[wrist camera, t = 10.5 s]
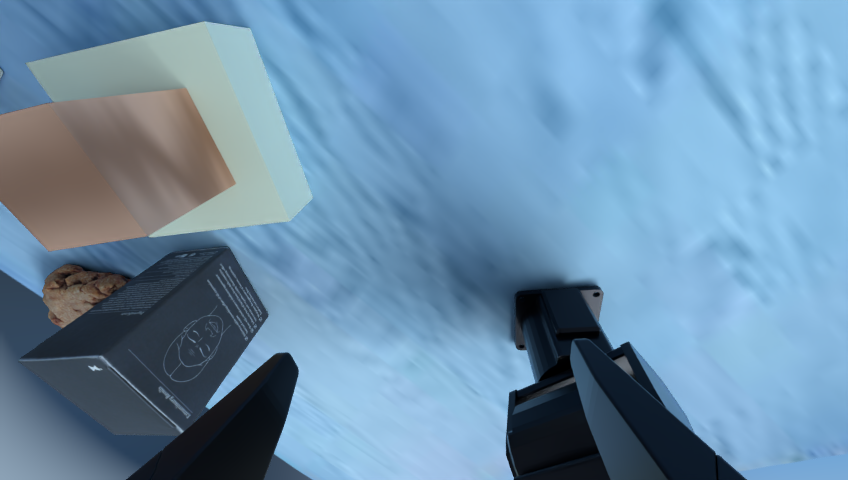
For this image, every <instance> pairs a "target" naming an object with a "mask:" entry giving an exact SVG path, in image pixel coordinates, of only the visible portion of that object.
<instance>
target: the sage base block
mask: <svg viewBox="0 0 848 480" xmlns="http://www.w3.org/2000/svg"><path fill="white" fill-rule="evenodd" d="M26 65H27V66H28V68H29V69H30V70H31V72H32V73H33V75H34V76H35V77H36V79H37V80H38V82H39V83H40V84H41V86H42V87H43V89H44V90H45V91H46V93H47V94H48V96H49V97H50V98H51V100H52V101H53V102H62V101H71V100H80V99H89V98H98V97H108V96H117V95H126V94H135V93H145V92H154V91H163V90H172V89H181V88H186V89H187V90H188V92H189V94H190V96H191V98H192V100H193V102H194V104H195V106H196V108H197V110H198V111H199V113H200V115H201V117H202V119H203V121H204V123H205V125H206V127H207V129H208V131H209V132H210V134H211V136H212V138H213V140H214V142H215V144H216V146H217V148H218V150H219V152H220V153H221V155H222V157H223V159H224V161H225V163H226V165H227V167H228V169H229V171H230V173H231V174H232V176H233V178H234V180H235V182H236V184H235V185H233V186H232V187H230V188H228V189H227V190H225V191H223V192H222V193H220V194H218V195H217V196H215V197H213V198H211V199H210V200H208V201H206V202H205V203H203V204H201V205H200V206H198V207H196V208H195V209H193V210H191V211H189V212H188V213H186V214H184V215H183V216H181V217H179V218H178V219H176V220H174V221H173V222H171V223H169V224H167V225H166V226H164V227H162V228H161V229H159V230H157V231H156V232H154V233H152V234H151V235H149V237H150V238H151V237H160V236H168V235H177V234H185V233H194V232H202V231H210V230H219V229H227V228H236V227H244V226H253V225H261V224H270V223H278V222H287V221H291V220H292V219H293V218H294V217H295V216H296V215H297V214H298V213H299V212H300V211H301V210H302V209H303V208H304V207H305V206H306V205H307V204H308V203H309V202H310V201H311V200H312V199H313V196H312V193H311V191H310V188H309V185H308V183H307V180H306V177H305V175H304V172H303V169H302V167H301V164H300V161H299V158H298V156H297V153H296V150H295V148H294V145H293V142H292V140H291V137H290V134H289V132H288V129H287V126H286V123H285V121H284V118H283V115H282V113H281V110H280V107H279V105H278V102H277V99H276V97H275V94H274V91H273V88H272V86H271V83H270V80H269V78H268V75H267V72H266V70H265V67H264V64H263V61H262V59H261V56H260V53H259V51H258V48H257V45H256V43H255V40H254V37H253V35H252V32H251V29H250V28H244V27H237V26H231V25H224V24H218V23H212V22H205V21H203V22H199V23H195V24H190V25H186V26H182V27H178V28H173V29H169V30H165V31H160V32H156V33H152V34H148V35H143V36H139V37H135V38H131V39H126V40H122V41H118V42H113V43H109V44H105V45H101V46H96V47H92V48H88V49H83V50H79V51H75V52H71V53H66V54H62V55H58V56H53V57H49V58H45V59H41V60H36V61H32V62H28V63H26Z"/></svg>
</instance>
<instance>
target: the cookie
mask: <svg viewBox="0 0 848 480" xmlns="http://www.w3.org/2000/svg"><path fill="white" fill-rule="evenodd" d="M129 281H131V280H130V279H126V278H125V277H124V276H122V275H119V274H112V273H111V272H109V273H105V272H102V273H99V272H92V271H84V270H83V268H81V267H80V266H77V265H71V264H65V265H63V266H62V267H60V268H58V269H56V270H55V271H54V272H52V273H51V274H50V275H49V276H48V277H47V278H46V279H45V285H44V287H43V290H42V292H43V294H44V296H43V301H44V303H45V304H46V305H47V306H48V307H49V309H50V311H49V315H48V318H49V319H51V321H52V322H53V323H54V324H55V325H59V326H60V327H61V328H64V327H65V326H66V325H68V324H69V323H71V322H72V321H74V320H75V319H76V318H78V317H79V316H81V315H83V314H84V313H85V312H87V311H88V310H89V309H91V308H92V307H94V306H95V305H97V304H98V303H100V302H101V301H102V300H104V299H105V298H107V297H108V296H110V295H111V294H112V293H114V292H115V291H117V290H118V289H119V288H121V287H122V286H124V285H125V284H126V283H128V282H129Z"/></svg>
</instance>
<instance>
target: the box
mask: <svg viewBox="0 0 848 480" xmlns="http://www.w3.org/2000/svg"><path fill="white" fill-rule="evenodd" d="M267 317H268V313H267V311H266V310H265V308H264V306H263V305H262V303H261V301H260V300H259V298H258V296H257V295H256V293H255V291H254V290H253V288H252V286H251V284H250V283H249V281H248V279H247V278H246V276H245V274H244V273H243V271H242V269H241V267H240V266H239V264H238V262H237V261H236V259H235V257H234V255H233V254H232V252H231V250H230V249H229V247H222V248H210V249H201V250H190V251H180V252H173V253H170V254H168V255H166V256H165V257H164V258H162V259H161V260H160V261H158V262H157V263H155V264H154V265H152V266H151V267H149V268H148V269H147V270H145V271H144V272H142V273H141V274H140V275H138V276H136V277H135V278H134V279H132V280H131V281H129V282H128V283H126V284H125V285H124V286H122V287H121V288H119V289H118V290H117V291H115V292H114V293H112V294H111V295H110V296H108V297H107V298H105V299H104V300H102V301H101V302H100V303H98V304H97V305H95V306H94V307H92V308H91V309H89V310H88V311H87V312H85V313H84V314H83V315H81V316H79V317H78V318H76V319H75V320H74V321H72V322H71V323H69V324H68V325H66V326H65V327H64V328H62V329H61V330H60V331H58V332H57V333H56V334H54V335H53V336H51V337H50V338H48V339H46V340H45V341H44V342H43V343H41V344H40V345H38V346H37V347H36V348H35V349H33V350H32V351H30V352H29V353H27V354H26V355H24V356H23V357H21V358H20V359H19V362H20V363H21V364H22V365H24V366H25V367H26V368H27V369H29V370H30V371H31V372H33V373H34V374H35V375H37V376H38V377H40V378H41V379H42V380H43V381H45V382H46V383H47V384H49V385H50V386H51V387H52V388H54V389H55V390H56V391H58V392H59V393H60V394H62V395H63V396H64V397H66V398H67V399H68V400H69V401H71V402H72V403H73V404H75V405H76V406H77V407H79V408H80V409H82V410H83V411H84V412H85V413H87V414H88V415H89V416H91V417H92V418H93V419H94V420H96V421H97V422H99V423H100V424H101V425H103V426H104V427H105V428H106V429H108V430H109V431H110V432H112V433H113V434H115V435H172V436H179V435H180V434H181V433H182V432H184V431H185V430H186V429H187V428H188V427H190V426H191V425H192V424H193V423H194V421H195V420H196V419H197V417H198V416H199V415H200V413H201V412H202V410H203V409H204V407H205V406H206V405H207V403H208V402H209V400H210V399H211V397H212V396H213V394H214V393H215V392H216V390H217V389H218V387H219V386H220V384H221V383H222V381H223V380H224V379H225V377H226V376H227V374H228V373H229V372H230V370H231V369H232V367H233V366H234V365H235V363H236V362H237V360H238V359H239V357H240V356H241V355H242V353H243V352H244V350H245V349H246V347H247V346H248V345H249V343H250V342H251V340H252V339H253V337H254V336H255V335H256V333H257V332H258V330H259V329H260V327H261V326H262V325H263V323H264V322H265V320H266V319H267Z"/></svg>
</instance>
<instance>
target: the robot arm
mask: <svg viewBox="0 0 848 480" xmlns="http://www.w3.org/2000/svg"><path fill="white" fill-rule="evenodd" d="M595 292H597V293H595ZM593 293H595V294H593ZM520 297H523V298H520ZM602 299H603V291H602V290H601V288H600V287H598V286H590V287H575V288H560V289H546V290H531V291H520V292H517V293H516V294H515V345H516V348H517V349H518V350H527V352H528V356H529V360H530V364H531V368H532V372H533V375H534V379H535V384H532V385H530V386H528V387H525V388H523V389H520V390H518V391H517V390H515V391H512V392H510V393H509V405H508V419H507V433H506V456H507V459H508V461H509V465H510V468H511V471H512V474H513V477H514V480H747V479H745V478H744V477H743V476H742V475H741V474H740V473H739V472H737V471H736V470H735V469H734V468H733V467H732V466H731V465H730V464H728V463H727V462H726V461H725V460H724V459H723V458H722V457H721V456H719V455H716V453H715V451H714V450H713V449H711V448H710V447H709V446H708V445H707V444H706V443H705V442H704V441H702V440H701V439H700V438H699V437H698V436H697V435H696V434H695V433H694V431H693V429H692V427H691V425H690V423H689V420H688V418H687V416H686V415H685V413H684V412H683V410H682V409H681V407H680V406H679V404H678V403H677V401H676V400H675V398H674V397H673V396H672V394H671V393H670V391H669V390H668V388H667V387H666V385H665V384H664V383H663V381H662V380H661V378H660V377H659V376H658V375H657V374H656V373H655V371H654V370H653V369H652V368H651V367H650V366H649V364H648V363H647V362H646V361H645V360H644V359H643V357H642V356H641V355H640V354H639V353H638V352H637V351H636V349H635V348H634V347H633V346H632V345H631V344H630V342H627V343H624V344H622V345H620V346H621V347H619V348H617V349H613V347H612V345H611V343H610V342H609V340H608V338H607V336H606V335H605V333H604V331H603V329H602V327H601V326H600V324H599V322H598V321H599V315H600V310H601V304H602ZM298 373H299V371H298V367H297V365H296V363H295V361H294V360H293V358H292V356H291V355H290V354H289V353H287V352H286V353H277V354H275V355H273V356H272V357H271V358H270V359H269V360H268V361H266V362H265V363H264V364H263V365H262V366H260V367H259V368H258V369H257V370H256V371H255V372H253V373H252V374H251V375H250V376H249V377H247V378H246V379H245V380H244V381H243V382H242V383H240V384H239V385H238V386H237V387H236V388H234V389H233V390H232V391H231V392H230V393H229V394H227V395H226V396H225V397H224V398H223V399H221V400H220V401H219V402H218V403H217V404H216V405H214V406H213V407H212V408H211V409H210V410H208V411H207V412H206V413H205V414H204V415H203V416H201V417H200V418H199V419H198V420H197V421H196V422H194V423H193V424H192V425H191V426H190V427H188V428H187V429H186V430H185V431H184V432H182V433H181V434H180V435H179V436H178V437H177V438H175V439H174V440H173V441H172V442H171V443H170V444H168V445H167V446H166V447H165V448H164V449H163V451H160V452H159V453H158V454H156V455H155V456H154V457H153V458H152V459H150V460H149V461H148V462H147V463H146V464H145V465H143V466H142V467H141V468H140V469H139V470H137V471H136V472H135V473H134V474H132V475H131V476H130V477H129V478H128V479H126V480H264V478H265V475H266V473H267V470H268V467H269V465H270V462H271V459H272V456H273V454H274V451H275V449H276V446H277V443H278V441H279V438H280V435H281V433H282V430H283V427H284V424H285V421H286V418H287V415H288V411H289V407H290V404H291V400H292V396H293V393H294V389H295V385H296V382H297V378H298Z"/></svg>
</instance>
